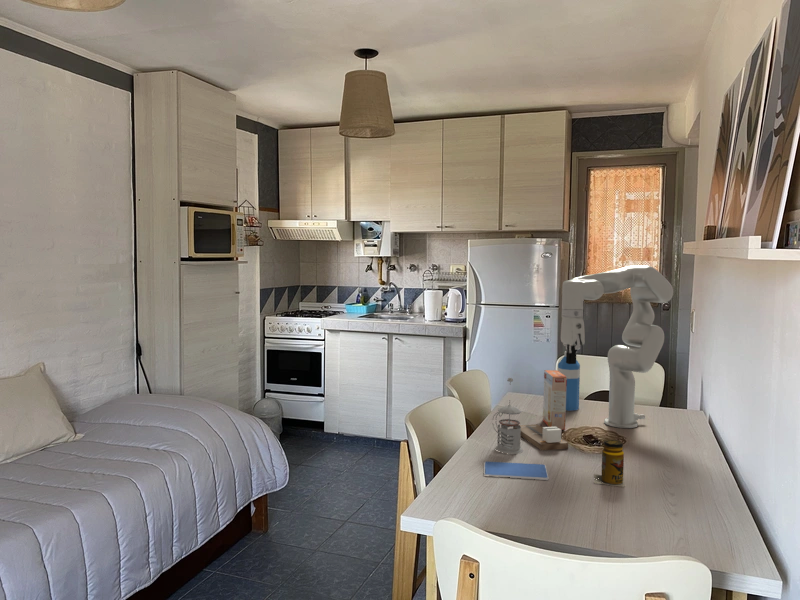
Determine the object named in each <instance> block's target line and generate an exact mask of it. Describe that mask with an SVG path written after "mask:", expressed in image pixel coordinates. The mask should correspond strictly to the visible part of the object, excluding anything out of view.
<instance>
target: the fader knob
mask: <svg viewBox="0 0 800 600" xmlns="http://www.w3.org/2000/svg"><path fill="white" fill-rule="evenodd" d="M542 427H543V438H542V439H543V440H544V441H546V442H547V443H552V442H561V439H562V430H561V429H559V428H558V427H548V426H542Z"/></svg>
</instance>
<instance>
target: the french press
mask: <svg viewBox="0 0 800 600" xmlns="http://www.w3.org/2000/svg"><path fill="white" fill-rule="evenodd" d="M513 381H514V380H513V378H512V377H508V378H507V382H509V384H511V383H512V382H513ZM497 411H498V412H496V413H494V414H493V416H492V419H494V417H495V419H498V418H497V416H499V417H502V416H503V415H508V418H504V419H503V418H502V419H500V420H498V423H499V424H497V422H495V426H496V428H497V430H496V428H495V426H494V424H492V427H493V430H494V431H495V432H496V434H497V445H496V446H495V447H494V450H495V449H496V450H498V451H500V452H503V453H502V454H504V453H508V454H507V455H518V454H517V453H519V454H521V453H523V452H524V448H522V447H521V435H520V433H521V426H520V425H521V422H520V421H519V420H518V419H511V415H513V416H514V415H519V414H522V410H521V409H520V408H519V407H517V406H515V405H511V401H509V404H507V405H503V406H500V407H499V408H497ZM500 414H501V415H500ZM510 427H512V428H510ZM513 427H516V428H517V429H514V428H513ZM496 450H495V451H496Z"/></svg>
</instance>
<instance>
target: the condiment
mask: <svg viewBox="0 0 800 600" xmlns="http://www.w3.org/2000/svg"><path fill="white" fill-rule="evenodd" d="M623 446H624V444H623V442H622V441H621V440H617V439H606V440H604V441H603V448H602V451H601V474H597V473H594V474H593V484H598V485H607V486H611V487H612V486H613V487H614V486H615V487H619V488H620V487H621V488H623V487H626V484H625V478H624V464H625V463H624V462H625V459H624V457H625V453H624V451H623V450H624V448H623ZM594 478H595V479H594ZM598 478H599V479H598ZM596 479H597V480H596ZM602 482H603V483H602Z"/></svg>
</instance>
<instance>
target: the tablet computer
mask: <svg viewBox="0 0 800 600" xmlns="http://www.w3.org/2000/svg"><path fill="white" fill-rule="evenodd" d="M483 473H484V475H489V476H499V477H498V478H500V477H510V478H509V479H517V478H521V480H534V479H535V480H537V481H539V480H540V481H549V479H550V478H549V473H548V470H547V465H546V464H542V463H541V464H540V463H539V464H538V463H525V462H523V463H522V462H521V463H520V462H505V461H504V462H503V461H483Z"/></svg>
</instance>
